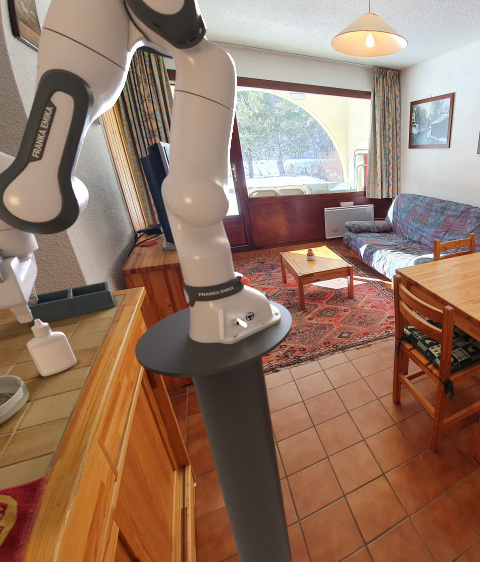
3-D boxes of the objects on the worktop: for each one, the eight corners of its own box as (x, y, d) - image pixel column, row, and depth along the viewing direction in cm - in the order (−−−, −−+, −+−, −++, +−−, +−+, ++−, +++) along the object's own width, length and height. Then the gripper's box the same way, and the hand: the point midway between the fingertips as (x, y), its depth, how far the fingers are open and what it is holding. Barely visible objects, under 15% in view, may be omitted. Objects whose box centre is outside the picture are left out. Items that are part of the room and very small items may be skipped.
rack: (112, 296, 99) (107, 281, 97) (115, 306, 93) (109, 290, 90) (35, 313, 88) (27, 296, 86) (31, 325, 82) (23, 307, 80)
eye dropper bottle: (73, 370, 66) (51, 321, 61) (37, 378, 63) (11, 328, 58) (79, 359, 69) (59, 312, 64) (45, 366, 67) (22, 318, 62)
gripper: (18, 254, 50) (48, 327, 55) (31, 230, 64) (55, 291, 69) (-44, 261, 46) (-5, 340, 51) (-15, 234, 60) (13, 298, 65)
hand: (29, 311), depth 60 cm, fingers open, 8 cm apart
